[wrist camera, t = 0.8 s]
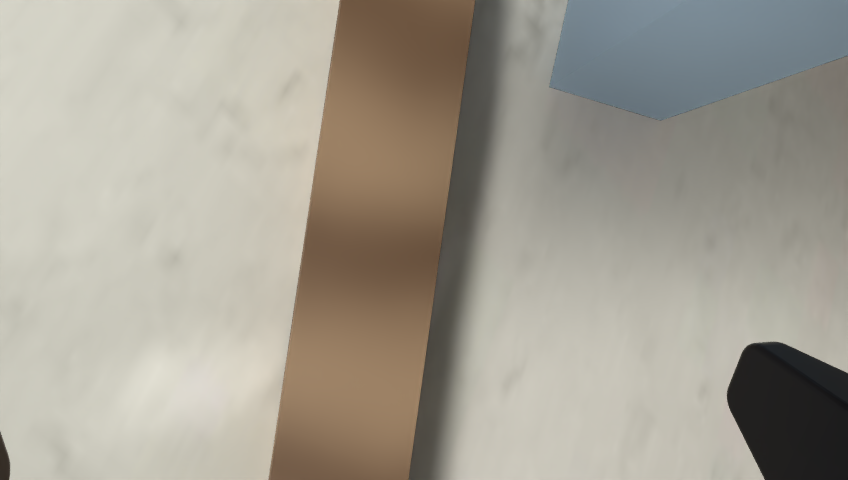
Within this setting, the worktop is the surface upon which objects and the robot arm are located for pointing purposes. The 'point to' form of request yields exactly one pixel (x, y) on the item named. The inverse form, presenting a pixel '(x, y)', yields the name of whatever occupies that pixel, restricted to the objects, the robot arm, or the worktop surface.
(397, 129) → the rail
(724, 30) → the post
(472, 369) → the worktop surface
